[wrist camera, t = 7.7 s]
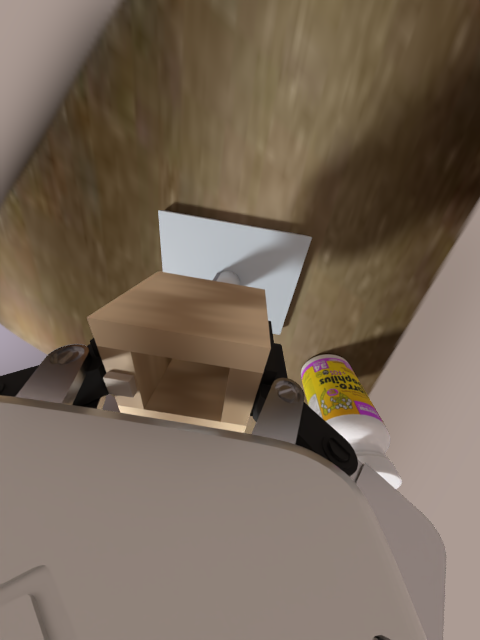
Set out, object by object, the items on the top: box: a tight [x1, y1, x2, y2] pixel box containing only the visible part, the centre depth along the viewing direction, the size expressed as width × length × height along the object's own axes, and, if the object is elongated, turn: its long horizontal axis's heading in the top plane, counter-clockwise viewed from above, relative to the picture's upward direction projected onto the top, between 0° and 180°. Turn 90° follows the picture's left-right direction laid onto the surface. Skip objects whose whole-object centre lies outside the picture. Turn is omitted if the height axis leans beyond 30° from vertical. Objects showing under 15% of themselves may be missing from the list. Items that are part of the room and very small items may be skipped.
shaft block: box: [158, 210, 312, 335], centre depth 18 cm, size 14×11×6 cm
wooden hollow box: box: [87, 271, 271, 433], centre depth 9 cm, size 6×6×5 cm
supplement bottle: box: [301, 354, 402, 489], centre depth 21 cm, size 7×7×13 cm
